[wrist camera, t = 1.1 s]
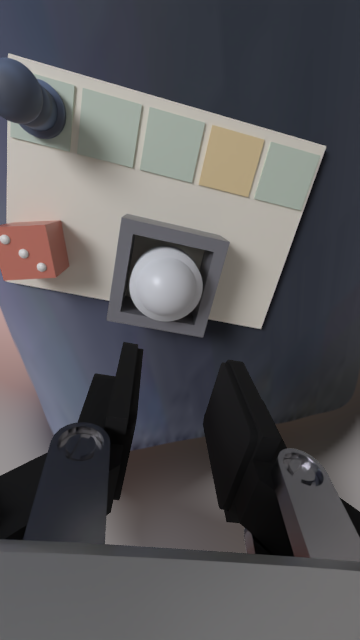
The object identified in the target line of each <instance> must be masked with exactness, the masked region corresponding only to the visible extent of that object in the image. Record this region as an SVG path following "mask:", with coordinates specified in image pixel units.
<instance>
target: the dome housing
mask: <svg viewBox="0 0 360 640" xmlns="http://www.w3.org/2000/svg"><path fill="white" fill-rule="evenodd" d="M135 235H139V236H144V237H148V238H153V239H157V240H162V241H166V242H171V243H175V244H180V245H184V246H189V247H194V248H198V249H203V250H205V251H204V255H203V259H202V263H201V267H200V271H199V272H200V274H201V277H202V283H203V290H202V295H201V298H200V300H199V302H198V304H197V306H196V307H195V308H194V309H193V311H191V312H190V313H189V314H188V315H186V316H185V317H183V318H181V319H178V320H174V321H157V320H154V319H151V318H149V317H147V316H146V315H144V314H143V313H142V312H140V311H139V310H138V308H137V307H136V306H135V304H134V303H133V301H132V298H131V297H129V296H125V294H126V288H127V282H128V276H129V270H130V264H131V258H132V252H133V246H134V240H135ZM229 244H230V242H229V241H228V240H226V239H225V238H223V237H222V236H220V235H217V234H213V233H209V232H204V231H200V230H196V229H191V228H187V227H183V226H178V225H174V224H170V223H165V222H161V221H157V220H152V219H148V218H144V217H139V216H135V215H131V214H126V215H124V216H123V217H122V218H121V225H120V232H119V238H118V245H117V252H116V259H115V266H114V273H113V279H112V286H111V293H110V300H109V307H108V314H107V321H112V322H118V323H123V324H129V325H135V326H140V327H146V328H152V329H157V330H163V331H169V332H174V333H180V334H186V335H191V336H197V337H203V336H204V332H205V329H206V325H207V321H208V318H209V314H210V311H211V307H212V304H213V300H214V297H215V293H216V290H217V286H218V283H219V279H220V276H221V272H222V268H223V265H224V261H225V258H226V254H227V251H228V247H229Z"/></svg>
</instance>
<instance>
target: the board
mask: <svg viewBox="0 0 360 640" xmlns="http://www.w3.org/2000/svg"><path fill="white" fill-rule="evenodd" d="M8 58H11V59H14V60H17V61H19V62H21V63H22V64H23V65H25V66H26V67H27V68H28V69H29V70H30V71H31V72H32V73H33V74H34V76H35V77H36V79H40V80H43V81H45V82H46V83H48V84H49V85H50V86H51V87H53V88H54V89H55V90H56V92H57V93H58V94H59V95H60V97H61V98H62V100H63V102H64V105H65V108H66V123H65V126H64V129H63V130H62V132H61V133H60V134H59V135H58V136H56V137H54V138H51V139H40V138H37V137H35V136H33V135H31V134H29V133H28V132H26V131H25V130H24V129H23V128H22V127H21V126H20V125H19V124H17V123H13V122H10V121H8V128H7V224H8V223H13V222H33V221H55V220H61V222H62V228H63V233H64V239H65V244H66V250H67V255H68V260H69V267H68V268H67V269H66V270H65V271H63V272H62V273H61V274H60V275H59V276H57V277H56V278H42V279H24V280H6V282H11V283H17V284H22V285H28V286H33V287H38V288H44V289H49V290H54V291H60V292H65V293H70V294H76V295H81V296H86V297H92V298H97V299H103V300H108V301H109V300H110V293H111V286H112V279H113V273H114V266H115V259H116V252H117V245H118V238H119V232H120V225H121V218H122V217H123V216H124V215H126V214H131V215H135V216H139V217H144V218H148V219H152V220H157V221H161V222H165V223H170V224H174V225H178V226H183V227H187V228H191V229H196V230H200V231H204V232H209V233H213V234H217V235H220V236H222V237H223V238H225V239H226V240H228V241H229V242H230V244H229V247H228V251H227V254H226V258H225V261H224V265H223V268H222V272H221V276H220V279H219V283H218V286H217V290H216V293H215V297H214V300H213V304H212V307H211V311H210V314H209V318H208V319H210V320H215V321H220V322H226V323H231V324H236V325H242V326H247V327H253V328H258V329H261V327H262V325H263V322H264V319H265V316H266V314H267V311H268V308H269V305H270V302H271V300H272V297H273V294H274V291H275V288H276V286H277V283H278V280H279V277H280V274H281V272H282V269H283V266H284V263H285V261H286V258H287V255H288V252H289V249H290V247H291V244H292V241H293V238H294V235H295V233H296V230H297V227H298V224H299V221H300V219H301V216H302V213H303V210H304V208H305V205H306V202H307V199H308V196H309V194H310V191H311V188H312V185H313V182H314V180H315V177H316V174H317V171H318V169H319V166H320V163H321V160H322V157H323V155H324V152H325V149H326V146H324V145H320V144H317V143H313V142H310V141H307V140H303V139H300V138H296V137H293V136H289V135H286V134H283V133H279V132H276V131H272V130H269V129H265V128H262V127H259V126H255V125H252V124H248V123H245V122H242V121H238V120H235V119H231V118H228V117H224V116H221V115H218V114H214V113H211V112H207V111H204V110H200V109H197V108H194V107H190V106H187V105H183V104H180V103H176V102H173V101H170V100H166V99H163V98H159V97H156V96H153V95H149V94H146V93H142V92H139V91H135V90H132V89H129V88H125V87H122V86H118V85H115V84H111V83H108V82H105V81H101V80H98V79H94V78H91V77H87V76H84V75H81V74H77V73H74V72H70V71H67V70H64V69H60V68H57V67H53V66H50V65H46V64H43V63H40V62H36V61H33V60H29V59H26V58H22V57H19V56H16V55H12V54H9V53H8ZM157 246H173V247H177V248H179V249H181V250H183V251H185V252H186V253H187V254H188V255H189V256H190V257H191V258H192V259H193V261H194V262H195V264H196V266H197V268H198V270H199V271H200V267H201V263H202V259H203V255H204V251H205V250H203V249H198V248H194V247H189V246H184V245H180V244H175V243H171V242H166V241H162V240H157V239H153V238H148V237H144V236H139V235H135V240H134V246H133V252H132V258H131V264H130V270H129V276H128V282H127V288H126V294H125V296H129V297H131V295H130V290H129V283H130V278H131V274H132V271H133V268H134V265H135V263H136V262H137V260H138V259H139V257H140V256H141V255H142V254H143V253H145V252H146V251H148V250H149V249H151V248H154V247H157Z"/></svg>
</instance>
